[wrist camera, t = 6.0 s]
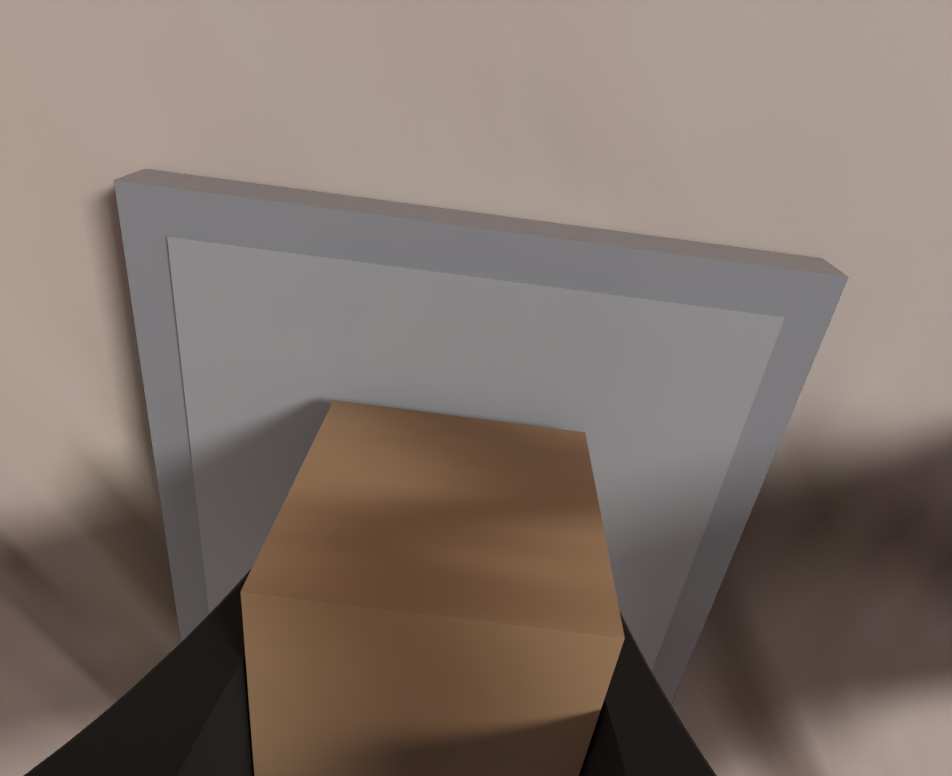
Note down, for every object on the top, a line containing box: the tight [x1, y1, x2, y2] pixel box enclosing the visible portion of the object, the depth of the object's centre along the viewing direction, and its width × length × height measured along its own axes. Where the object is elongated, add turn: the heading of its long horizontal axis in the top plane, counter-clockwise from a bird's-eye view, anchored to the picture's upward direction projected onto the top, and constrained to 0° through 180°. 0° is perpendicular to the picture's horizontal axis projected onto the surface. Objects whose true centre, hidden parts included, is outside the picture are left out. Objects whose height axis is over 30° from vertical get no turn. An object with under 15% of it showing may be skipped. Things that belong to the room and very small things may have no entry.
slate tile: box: [114, 169, 848, 704], centre depth 14 cm, size 12×12×1 cm
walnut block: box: [241, 400, 625, 776], centre depth 11 cm, size 4×4×4 cm
